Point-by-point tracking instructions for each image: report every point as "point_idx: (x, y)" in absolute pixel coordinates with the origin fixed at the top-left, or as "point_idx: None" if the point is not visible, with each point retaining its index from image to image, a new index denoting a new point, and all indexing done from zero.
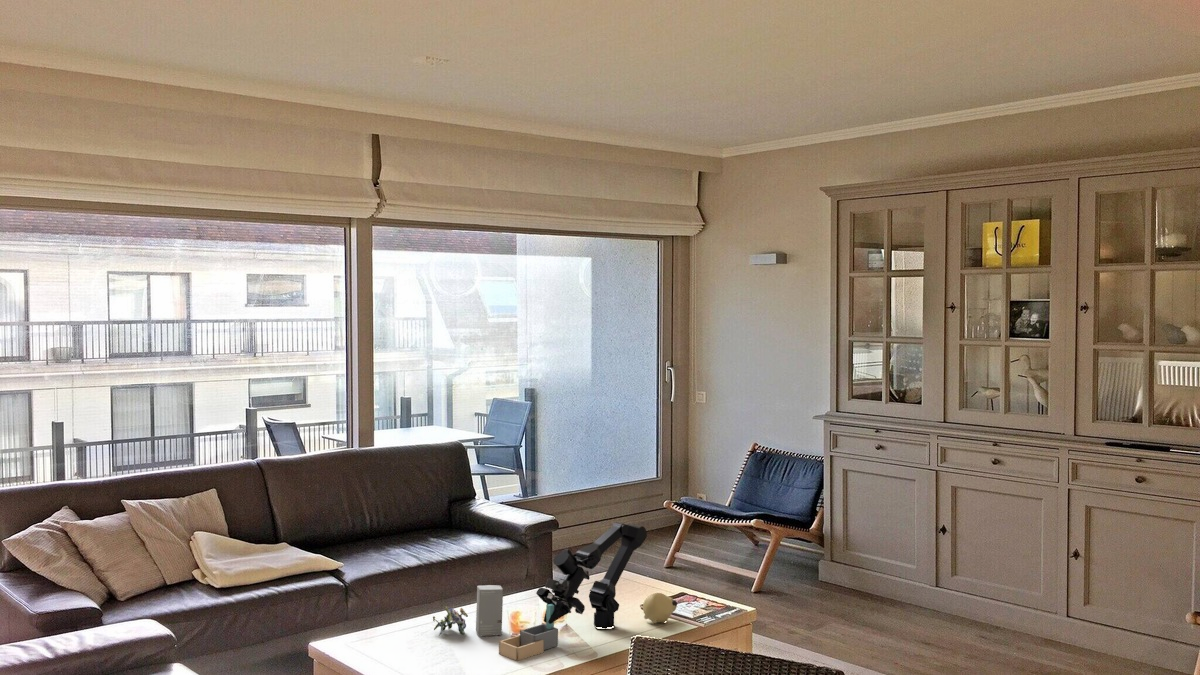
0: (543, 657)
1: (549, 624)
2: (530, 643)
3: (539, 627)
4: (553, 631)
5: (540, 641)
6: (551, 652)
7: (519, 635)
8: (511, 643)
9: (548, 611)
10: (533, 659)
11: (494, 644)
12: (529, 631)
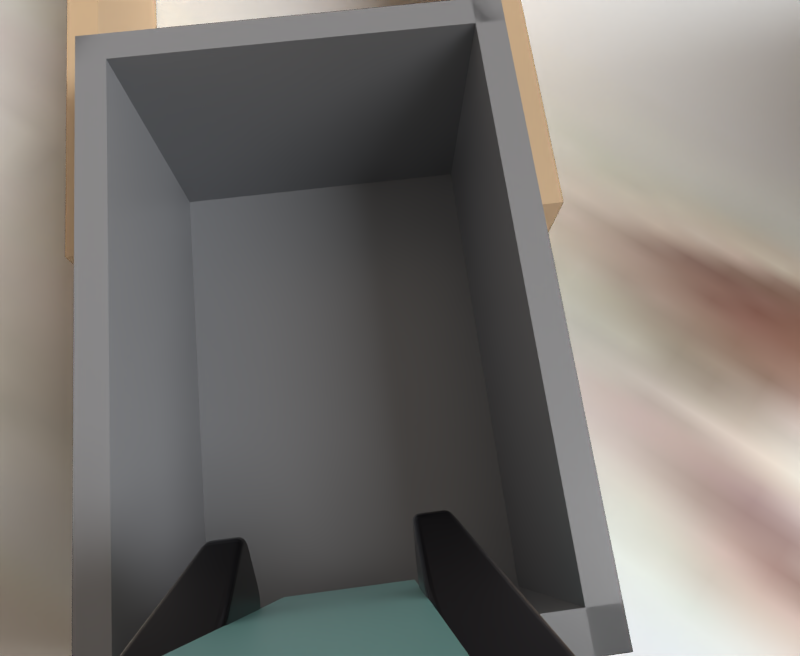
0: (3, 226)
1: (284, 605)
2: (95, 17)
3: (551, 486)
4: (85, 559)
5: (67, 193)
6: (70, 422)
7: (530, 84)
8: None
9: (278, 646)
10: (41, 98)
11: (774, 27)
12: (500, 223)
